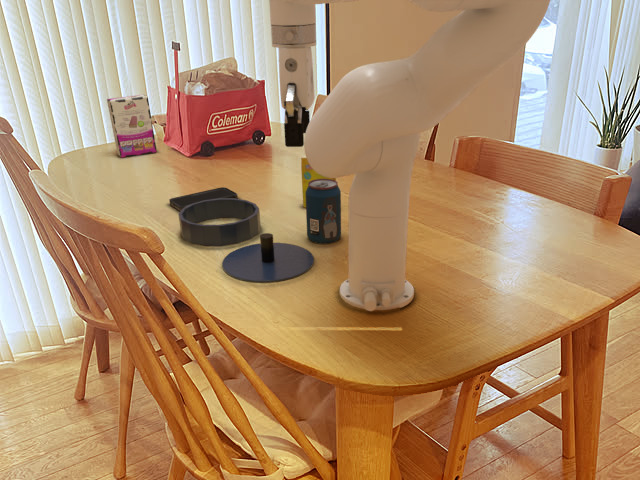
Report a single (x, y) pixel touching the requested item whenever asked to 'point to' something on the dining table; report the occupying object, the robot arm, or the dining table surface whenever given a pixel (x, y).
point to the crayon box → (308, 177)
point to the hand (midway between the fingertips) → (298, 139)
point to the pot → (222, 232)
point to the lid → (268, 261)
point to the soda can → (323, 211)
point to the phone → (201, 197)
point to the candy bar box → (132, 125)
